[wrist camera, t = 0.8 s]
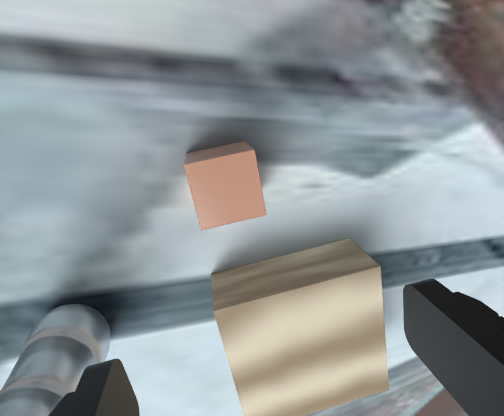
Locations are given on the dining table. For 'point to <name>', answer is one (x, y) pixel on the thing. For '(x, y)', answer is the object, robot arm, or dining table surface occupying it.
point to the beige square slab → (303, 329)
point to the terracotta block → (225, 184)
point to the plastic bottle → (54, 359)
